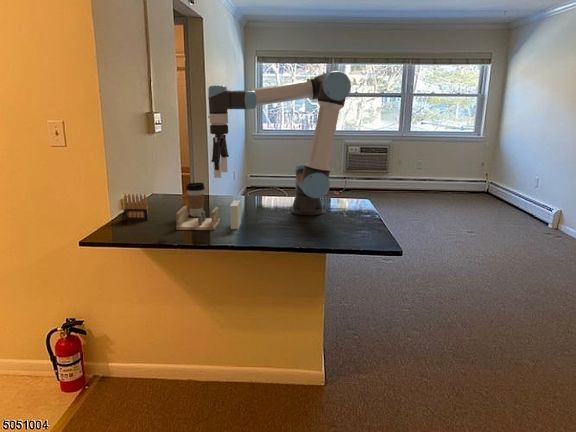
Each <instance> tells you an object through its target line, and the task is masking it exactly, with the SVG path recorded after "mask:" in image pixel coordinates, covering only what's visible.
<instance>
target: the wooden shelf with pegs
mask: <svg viewBox="0 0 576 432" xmlns="http://www.w3.org/2000/svg"><path fill="white" fill-rule="evenodd" d="M188 207H189V206H188V205H184V206H182V207H181V208H180V209H179V210H178V211H177V212H176V213H175V221H176V227H175V229H176V231H177V230H180V231H181V230H182V231H184V230H186V231H187V230H188V231H191V230H192V231H215V230H216V228H217V227H218V226H219V224H220V223H221V218H220V216H219V206H215V207H214V209H213V210H212V211H211V212H210V214H211V217H206V211H205V210H203V211H202V212H201V215H198V216H197V217H189V211H188V209H189V208H188Z"/></svg>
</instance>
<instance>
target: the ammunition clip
mask: <svg viewBox="0 0 576 432" xmlns="http://www.w3.org/2000/svg"><path fill="white" fill-rule="evenodd" d="M123 199H124V200H123V207H124V209H123V212H124V213H123V214H124V221H149V220H150V213H149V207H148V205H149V204H148V201H147V200H148V199H147V195H146V193H144V194H143V195H142V193H140V194H138V193H136V195H135V194H134V193H132V195H131V193H128V196H127V194H126V193H124V195H123Z"/></svg>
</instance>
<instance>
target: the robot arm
mask: <svg viewBox="0 0 576 432" xmlns="http://www.w3.org/2000/svg"><path fill="white" fill-rule="evenodd" d="M207 90H208V110H209V111H208V112H209V113H208V114H209V115H208V117H207V118H208V119H209V123H210V125H209V133H210V135H214V137H213V138H212V142H213V143H212V158H211V162H212V163H213V175H214V176H213V177H214V178H216V179H221V178H222V173H229V172H228V158H229V155H230V154H229V152H228V145H227V139H226V138H227V137H226V136H227V135H228V134H229V125H228V124H229V118H228V117H229V114H228V110H248V111H249V110H255V109H256V108H257V107H259V106H267V105H271V104H277V103H278V104H279V103H285V102H286V103H287V102H293V101H297V100H303V99H309V100H311V101H312V100H317V101H316V102H317V104H318V105H319V109H318V114H317V119H316V124H315V128H314V134H313V139H312V143H311V149H310V153H309V154H310V155H309V159H308V161H307V162H305V164H304V163H303V164H297V165H296V166H295V171H294V172H295V196H294V200H293V202H292V206H291V212H292V213H293V214H295V215H300V216H317V215H321V214H323V213H324V206H323V202H322V197H324V196H325V195H326V194H327V193H328V192H329V190H330V187H331V181H330V173H331V168H330V166H329V162H330V157H331V152H332V147H333V143H334V138H335V134H336V133H335V132H336V129H337V124H338V119H339V116H340V115H339V113H340V110H341V109H343V108H344V107H345V104H346V99H347V97H348V96H349V94H350V92H351V90H352V83H351V79H350V78H349V76H348V75H347V73H346V72H345V73H344V71H340V70H332V71H328V72H325V73H321V74H320V75H317V76H312V77H307V79H306V80H302V81H301V80H300V81H295V82H289V83H288V82H287V83H282V84H276V85H270V86H269V85H268V86H262V87H258V88H257V87H256V88H251V89H250V88H249V89H243V90H228V87H227V85H210V86H208V89H207Z"/></svg>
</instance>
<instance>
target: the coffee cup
mask: <svg viewBox="0 0 576 432" xmlns="http://www.w3.org/2000/svg"><path fill="white" fill-rule="evenodd" d="M185 190H186V192H187V193H186V194H187V195H186V196H187V200H188V207H189V208H188V209H189V215H190V216H191V217H198V215H201V212H202V211H204V205H205V203H204V202H205V192H204V191H205V190H206V187H205V183H204V182H190V183H187V184H186V187H185Z"/></svg>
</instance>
